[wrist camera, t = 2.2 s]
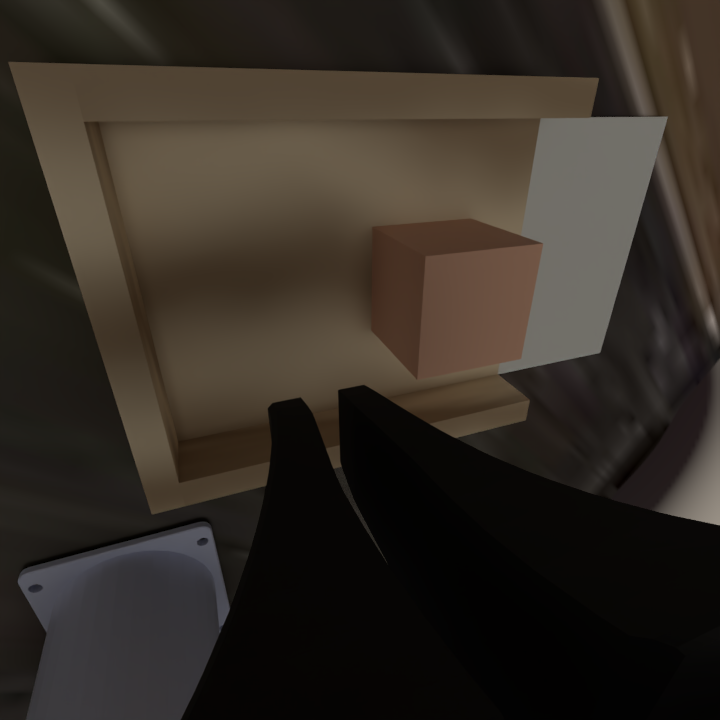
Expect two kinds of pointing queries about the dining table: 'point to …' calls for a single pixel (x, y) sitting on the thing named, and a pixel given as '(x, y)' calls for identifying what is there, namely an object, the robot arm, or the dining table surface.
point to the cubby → (269, 240)
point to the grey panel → (582, 228)
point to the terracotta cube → (452, 294)
